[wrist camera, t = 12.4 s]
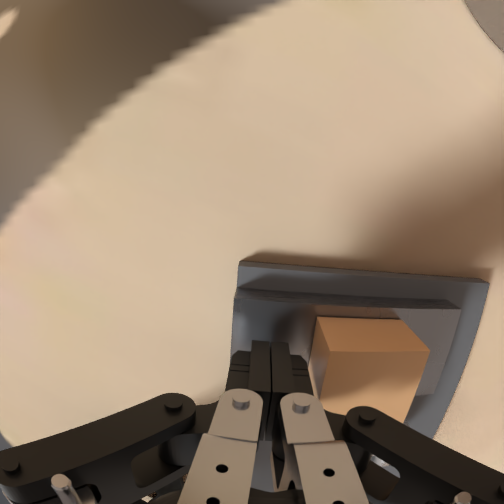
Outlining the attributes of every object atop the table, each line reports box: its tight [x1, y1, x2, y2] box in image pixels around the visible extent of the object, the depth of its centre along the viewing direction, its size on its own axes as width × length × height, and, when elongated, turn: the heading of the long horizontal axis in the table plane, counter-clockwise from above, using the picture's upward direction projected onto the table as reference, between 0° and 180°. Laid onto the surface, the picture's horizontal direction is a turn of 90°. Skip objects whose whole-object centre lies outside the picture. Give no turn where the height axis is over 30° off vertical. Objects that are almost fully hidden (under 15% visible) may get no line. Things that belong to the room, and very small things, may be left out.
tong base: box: [230, 287, 461, 467], centre depth 16 cm, size 27×11×3 cm, turn 176°
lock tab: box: [308, 317, 430, 423], centre depth 12 cm, size 4×4×3 cm
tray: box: [237, 261, 490, 492], centre depth 18 cm, size 30×14×1 cm, turn 176°
